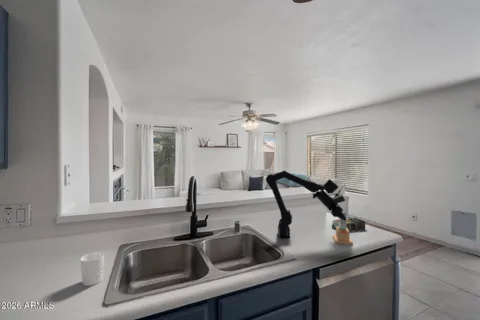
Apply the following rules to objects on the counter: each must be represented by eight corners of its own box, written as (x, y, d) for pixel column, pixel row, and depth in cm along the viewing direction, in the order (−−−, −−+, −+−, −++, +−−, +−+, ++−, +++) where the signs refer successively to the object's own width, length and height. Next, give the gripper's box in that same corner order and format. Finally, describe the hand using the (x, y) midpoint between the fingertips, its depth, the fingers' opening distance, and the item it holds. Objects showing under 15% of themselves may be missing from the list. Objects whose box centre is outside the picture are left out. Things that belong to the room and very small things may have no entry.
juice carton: (340, 232, 142) (340, 223, 142) (330, 227, 152) (330, 219, 152) (366, 230, 147) (366, 221, 147) (354, 225, 157) (355, 217, 157)
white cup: (108, 275, 92) (108, 251, 91) (97, 287, 84) (96, 261, 83) (89, 275, 91) (88, 252, 91) (75, 287, 83) (75, 261, 83)
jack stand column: (340, 232, 127) (340, 212, 126) (339, 230, 130) (339, 211, 129) (346, 233, 126) (346, 213, 126) (344, 231, 129) (345, 211, 129)
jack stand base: (335, 243, 125) (335, 231, 125) (332, 237, 134) (332, 226, 133) (352, 244, 123) (353, 232, 123) (348, 238, 131) (349, 227, 131)
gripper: (339, 192, 119) (361, 214, 117) (332, 187, 137) (351, 206, 135) (323, 206, 121) (344, 227, 119) (319, 199, 139) (337, 218, 137)
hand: (345, 219), depth 127 cm, fingers closed on jack stand column, 3 cm apart
